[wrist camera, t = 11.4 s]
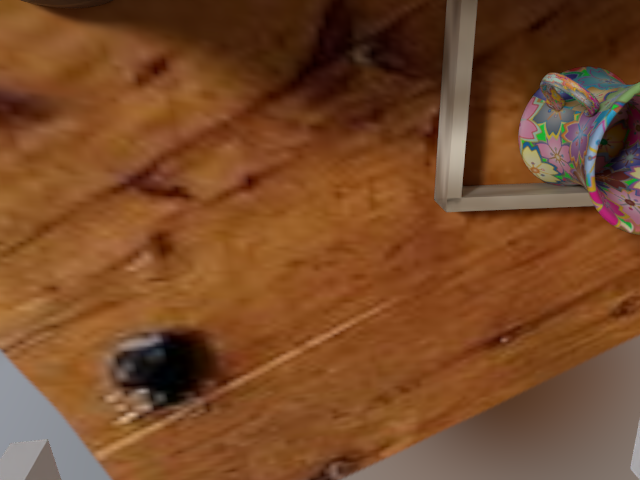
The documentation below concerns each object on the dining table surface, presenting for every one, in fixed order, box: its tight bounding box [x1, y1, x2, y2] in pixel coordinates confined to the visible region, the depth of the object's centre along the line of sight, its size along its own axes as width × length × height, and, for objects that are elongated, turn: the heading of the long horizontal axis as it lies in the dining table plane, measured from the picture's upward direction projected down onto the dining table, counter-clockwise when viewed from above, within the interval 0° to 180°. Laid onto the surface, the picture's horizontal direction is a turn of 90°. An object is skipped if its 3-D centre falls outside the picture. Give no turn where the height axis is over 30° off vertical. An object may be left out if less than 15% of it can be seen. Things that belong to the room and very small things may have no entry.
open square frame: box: [434, 0, 594, 212], centre depth 31 cm, size 20×18×11 cm
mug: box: [519, 66, 640, 235], centre depth 33 cm, size 12×9×11 cm
